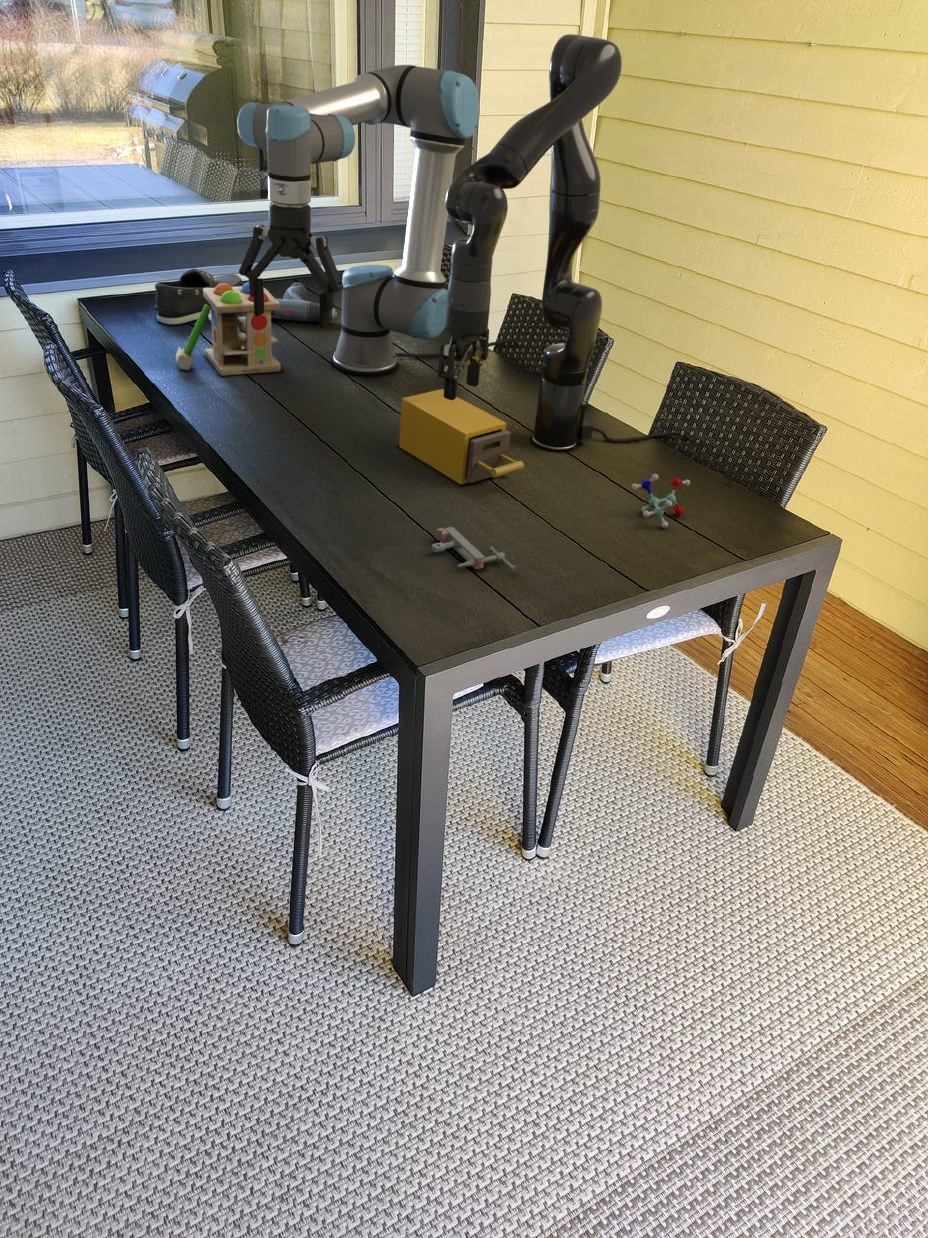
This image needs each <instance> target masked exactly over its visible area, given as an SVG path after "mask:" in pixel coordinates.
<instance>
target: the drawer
mask: <svg viewBox="0 0 928 1238" xmlns="http://www.w3.org/2000/svg"><path fill="white" fill-rule="evenodd" d="M510 441H511V431H509V430H507V429H506V430H505V431H502V432H498V433H497V430H496V431H492V432H489V433H485V434H481V435H478V436H474V437H470V438H469V443H468V454H467V465H466V474H467V480H466V481H467V482H468V483H469V484H473V483H477V482H479V481H482V480H486V479H489V478H494V479H496V478H498V477H503V476H505V475H509V474H511V473H512V474H513V473H515V472H518V471H521V470H524V468H525V464H524V462H523V460H517V461H516V460H514V459H512V458H511V457H509V448H510Z"/></svg>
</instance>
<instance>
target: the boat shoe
mask: <svg viewBox="0 0 928 1238" xmlns="http://www.w3.org/2000/svg"><path fill="white" fill-rule="evenodd" d="M221 283H226V284H228V285H230V286H231V287H242V286H243V285H244V284H245V283H244V281H243V280H242V278H241V276H240V275H238V274H234V273H229V274H224V275H217V276H213V275H211V273H209V272H207V271H205V270H202V269H198V268H191V269H189V270H186V271H185V272H184V273H182V274H181V276H180V277H179V279H178V280H172V281H158V282H155V284H154V289H155V305H154V309H155V310H157V312H156V318H157V319H156V320H157V321H159V322H160V323H162V324H165V325H180V324H184V323H189V322H192V321H197V320H198V318H199V316H200V314H201V311H202V309H203V307H204V305H208V306H210V307H211V305H210V304H209V302H208V301H207V300H206V299H205V297H204V296H203V289H204V288H215V287H216V286H217V285H218V284H221ZM209 314H211V310H210V312H209Z"/></svg>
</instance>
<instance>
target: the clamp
mask: <svg viewBox="0 0 928 1238" xmlns="http://www.w3.org/2000/svg"><path fill="white" fill-rule="evenodd" d="M436 541H439V542H436V543H432V544H431V551H432V552H433V553H435V554H437V553H441V552H445V551H446V550H447V549H451V548H453V549H454V550H455V551H456V552H457V553H458V554H459V555H460V556H461V557H462V558H463V559H464V560H465V562H462V563H459V564H457V567H458V568H462V567H472V568H473V569H475V570H480V569H483V568H484V563H488V562H492V561H496V562H499V561H502V562H503V563H504V564H505V565H506V566H507V567H508V568H509V569H510V571H511V572H514V571H515V570H516V568H517V567H516V565H514V564H511V563H510V562H509V561H508V560H507V559H506V554H505V552H503V551H501V552H498V551H497V550H495V547H494V546H490V547H489V549H488V551H489V552H490V553H493V554H494V555H491V556H486V557H485V556H484V554H482V553H481V551H479V550H478V549H477V548H476V547H475V546H474V545H473V544H472V543H471V542H470V541H469V540H467V538H466V537H464V535H462V534H461V533H460V532H459V531H458V530H457V529H456V528H455V527H454V526H448V527H445V528H444V527H440V528H437V529H436Z"/></svg>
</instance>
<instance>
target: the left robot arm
mask: <svg viewBox="0 0 928 1238" xmlns="http://www.w3.org/2000/svg"><path fill="white" fill-rule="evenodd" d="M480 115H481V104H480V97H479V91H478V90H477V87H476V84H475V83H474V81H473V80H472V79H471V78H470V77H469V76H468V75H466V74H463V73H459V72H457V71H453V70H444V69H437V68H430V67H423V66H416V65H413V64H399V65H392V66H388V67H382V68H379V69H375V70H371V71H368V72H364V73H361V74H359V75H357V76H356V77H354V79H353V80H352V82H349V83H345V84H341V85H337V86H334V87H329V88H327V89H323V90H320V91H316V92H313V93H308V94H305V95H301V96H297V97H293V98H290V99H287V100H282V101H277V102H274V103H270V104H269V103H268V104H265V103H262V102H259V101H258V102H247V103H245V104H244V105H242V107H241V109H239V111H238V115H237V120H236V121H237V122H236V123H237V124H236V125H237V133H238V135H239V138H240V139H241V141H242V142H243V143H244V144H245V145H247V146H250V147H254V148H256V149H258V150H265V151H266V155H267V191H268V192H267V193H268V200H269V201H270V202H269V204H268V224H269V227H266V225H264V224H259V225H257V226H254V227H253V229H252V240H251V242H250V244H249V247H248V249H247V251H246V253H245V255H244V258H243V260H242V262H241V265H240V268H239V269H238V273H239V276H244V277H246V278H247V279H248V282H249V288H250V289H249V290H250V296H251V297H254V316H257V317H258V316H260V315H262V314H263V313H264V288H265V287H264V278H261V275H262V273H263V272H265V270H266V269H267V268H268V267H269V265H270V264H271V263H272V262H273V260H275V258H276V257H277V256H278V255H279V256H280V257H283V258H285V257H289V258H291V259H294V260H296V259H299V260H300V262H301V263H303V264H304V265H305V267H306V268H307V269H308V271H309V272H310V274H311V275H312V277H313V278H314V280H315V282H316V283H317V284H318V286H319V288H320V289H321V290H322V291H321V292H320V293H319V304H320V321H319V329H321V330H322V329H323V330H324V329H325V328H327V327H328V326H329V325H330V322H329V311H330V310H332V309H333V308H334V293H338V292H339V291H341V316H340V317H341V319H340V321H341V324H340V325H341V326H340V329H341V330H340V336H339V338H338V341H337V344H336V346H335V347H334V348H333V351H332V353H333V361H332V362H333V363H332V364H333V366H334V367H335V368H337V369H338V370H339V371H342V372H344V373H347V374H352V375H356V376H380V375H381V376H382V375H386V374H389V373H391V372H393V371H395V369H396V368H397V361H398V359H397V357H398V358H432V357H433V358H434V357H440V351H437V352H429V353H428V352H427V353H426V352H425V353H409V352H395V347H394V343H393V341H392V337H391V336H392V335H391V332H395V333H398V334H402V335H404V336H405V335H406V336H409V337H410V338H413V339H419V340H425V341H430V340H434V339H436V338H437V337H438V336H440V335H441V334H442V332H443V331H444V330H445V329H446V327H445V322H446V307H447V293H448V289H445V287H446V282H447V281H446V278H445V276H444V275H443V273H442V272H441V266H442V259H443V252H444V246H445V245H444V244H445V238H446V229H447V224H448V223H447V222H448V216H449V214H448V212H447V209H446V205H445V199H446V194H447V191H448V188H449V186H450V185H451V183H452V182H453V176H454V172H455V171H454V169H455V163H456V156H457V154H458V153H459V152H460V151H462V150H463V149H464V148H465V141H466V139H469V138H471V137H472V136H473V135H475V132H476V128H477V127H478V125H479V121H480ZM360 124H365V125H369V126H375V125H378V124H389V125H396V126H401V127H406V128H409V129H410V133H409V139H410V141H411V142H412V144H413V145H414V148H415V152H414V158H413V159H414V160H413V168H412V178H411V186H410V194H409V203H408V212H407V219H406V228H405V238H404V246H403V257H402V263H401V266H400V267H398V268H397V269H396V270H395V271H394V269H393V268H392V267H391V266H389V265H387V264H386V265H384V264H361V265H355V266H351V267H349V268H346V269H345V270H344V272H343V273H342V277H341V276H340V273H339V270H338V269H337V265H336V263H335V261H334V259H333V256H332V254H331V251H330V249H329V242H328V241H329V240H328V237H327V235H325V234H321V235H320V236H319V235H318V236H316V235H313V234H312V231H311V226H312V208H311V205H310V202H312V186H311V184H312V183H311V176H312V175H311V174H312V173H311V172H312V171H311V170H312V167H311V166H312V165H315V164H320V163H321V164H322V163H328V162H337V161H340V160H342V159H346V158H347V157H350V155H351V154H352V152H353V151H354V149H355V145H356V132H355V128H354V126H356V125H360ZM267 237H268V240H269V241H270V243H271V244H272V245H270V247H269V248H268V249H267V251H266V252H265V254H264V255H263V256H262V258H261V259H260V260H259V261H258V262H257V264H255V262H256V259H257V257H258V255H259V253H260V251H261V248H262V246H263V243H264V242H265V240H266V239H267ZM311 245H313V248H314V249H316V253H317V255H318V258H319V260H320V263H321V265H322V266H321V265H320V263H319V261H318V260H317V258H316V257H315V254H314V252H313V250H312V249H311ZM254 264H255V266H254ZM509 343H510V344H511V343H513V344H515V345H516V346H517V347H521V346H520V345H518V344H516V343H515V342H506V340H505V339H502V340H497V341H491V342H489V343H488V348H490V347H494V346H499V345H504V344H509ZM480 348H481V351H483V348H482V347H480Z"/></svg>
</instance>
